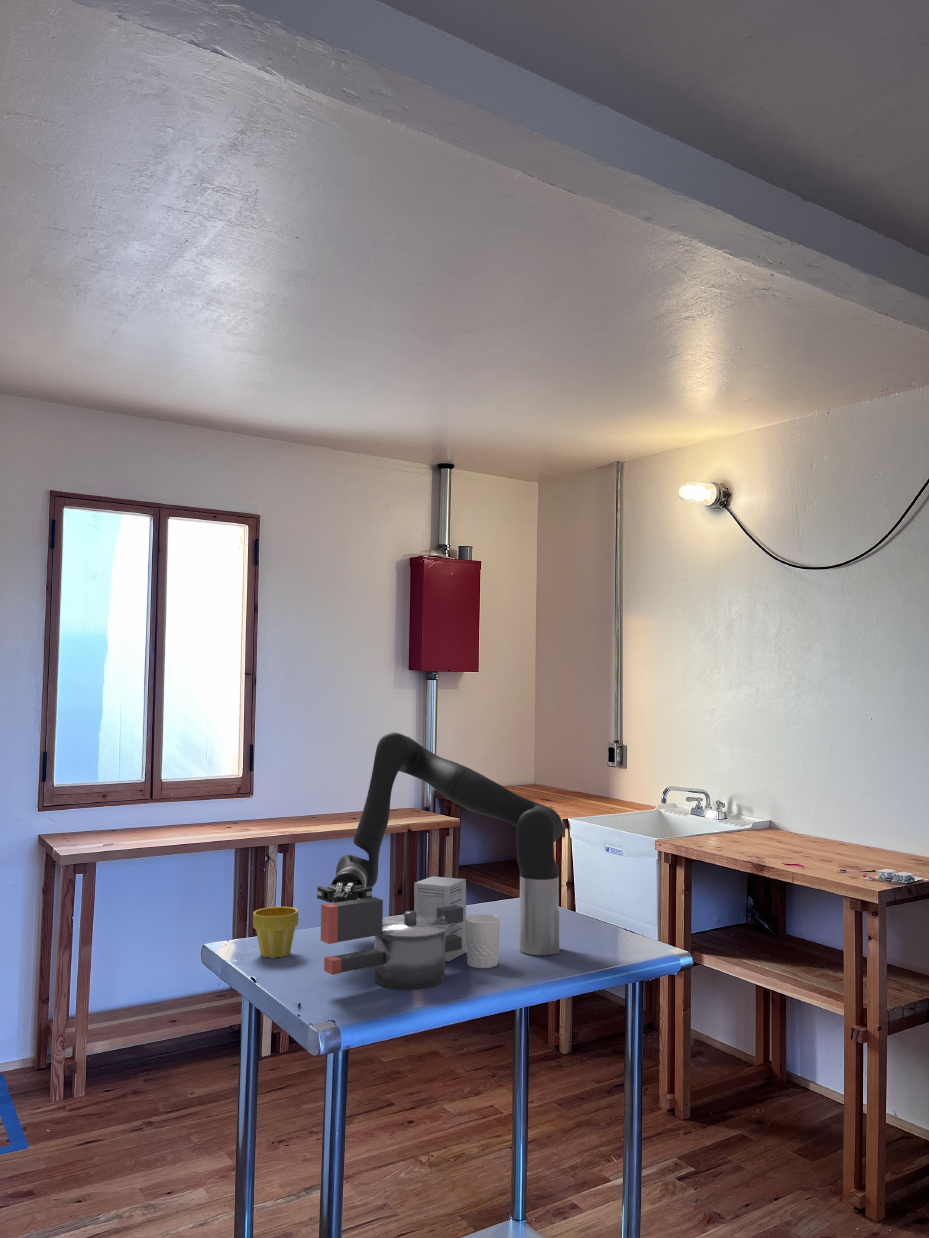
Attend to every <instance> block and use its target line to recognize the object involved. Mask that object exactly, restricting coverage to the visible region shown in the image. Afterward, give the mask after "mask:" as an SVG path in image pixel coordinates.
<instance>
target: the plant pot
mask: <svg viewBox="0 0 929 1238" xmlns="http://www.w3.org/2000/svg"><path fill="white" fill-rule="evenodd" d="M298 925H299V910H298V908H295V907H291V906H271V907H270V906H269V907H265V908H260V909H257V910H254V911H253V914H252V926H253V929H255V931H256V936H257V941H258V946H259V951H260V953H259V954H260V956H261V955H262V956H261V957H263V956H264V957H263V958H266V957H273V958H272V959H277V958H276V957H280V958H284V956H285V957H287V955H288V956H289V955H290V954H291V951H292V947H293V941H294V936H295V932H296V927H298Z"/></svg>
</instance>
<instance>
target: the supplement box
mask: <svg viewBox="0 0 929 1238" xmlns="http://www.w3.org/2000/svg"><path fill="white" fill-rule="evenodd" d="M413 890H414V891H413V893H414V894H413V897H414V898H413V899H414V900H413V906H414V909H413V911H416V912H417V915H422V916H431V917H436V918H437V908H440V907H447V906H453V905H456V906H460V907H463V922H458V923H453V924H447V931H446V932H445V936H447V935H456V936H459V937H462V949H460V950H455V951H450V952H445V962H451V961H452V960H454V959H456V958H458V957H460V956H461V955H463V954H465V953H467V950H466V931H465V918H466V917H467V879H465V878H455V877H443V876H430V877H427V878H425V879H421V880H417V882H416V881H415V882H414V884H413Z"/></svg>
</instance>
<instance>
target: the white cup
mask: <svg viewBox="0 0 929 1238" xmlns="http://www.w3.org/2000/svg"><path fill="white" fill-rule="evenodd" d="M500 927H501V918H500V916H497V915H493V914H484V913H483V914H481V913H479V914H471V915H468V916H467V915H466V918H465V931H466V961H467V962H466V963H467V966H469V967H471V968H477V969H489V968H494V967H496V966H498V959H499V957H498V955H499V952H500V951H499V949H500V930H501V929H500Z"/></svg>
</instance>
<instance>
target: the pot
mask: <svg viewBox="0 0 929 1238" xmlns="http://www.w3.org/2000/svg"><path fill="white" fill-rule="evenodd" d="M460 949H462V937H459V936H456V935H447V936H445V932H444V933H442V934H439V935H436V936H431V937H423V938H395V937H388V936H383V935H377V936H374V948H371V949H366V950H361V951H360V950H359V951H354V952H349V953H344V954H343V953H342V954H338V955H330V956H325V957H323V971H324V972H326V973H328V974H330V975H332V976H333V975H338V974H342V973H347V972H351V971H356V970H361V969H367V968H372V967H373V981H374V982H375V983H376V984H377V985H378V986H381V987H383V988H388V989H393V990H404V991H408V990H409V991H412V990H413V991H414V990H424V989H425V990H426V989H431V988H434V987H437V986H439V985H441V984H442V983H444V982H445V981H446V961H445V952H450V951H455V950H460Z"/></svg>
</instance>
